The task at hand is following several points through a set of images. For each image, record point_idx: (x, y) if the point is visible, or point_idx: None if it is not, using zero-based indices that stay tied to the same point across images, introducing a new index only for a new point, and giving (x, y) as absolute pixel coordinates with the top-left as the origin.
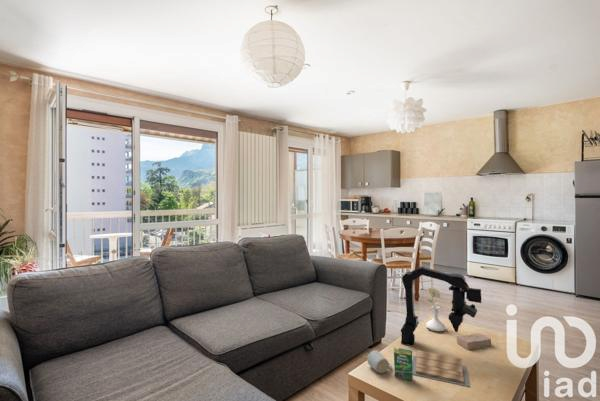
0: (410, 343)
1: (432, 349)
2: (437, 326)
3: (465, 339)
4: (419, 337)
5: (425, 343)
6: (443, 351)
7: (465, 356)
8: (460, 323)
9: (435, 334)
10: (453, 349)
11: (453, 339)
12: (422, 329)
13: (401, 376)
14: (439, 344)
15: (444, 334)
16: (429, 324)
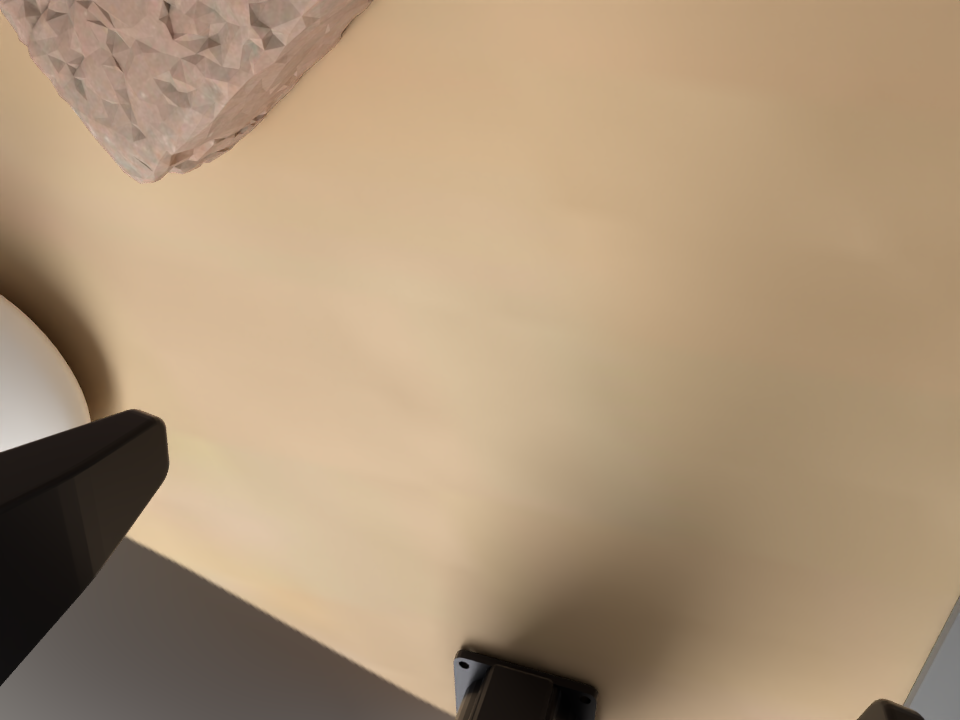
0: (571, 714)
1: (608, 516)
2: (7, 405)
3: (198, 24)
4: (339, 573)
5: (465, 552)
6: (621, 394)
7: (704, 49)
8: (88, 470)
9: (152, 393)
10: (491, 234)
11: None
12: None
13: None
14: (413, 402)
15: (77, 282)
16: None
